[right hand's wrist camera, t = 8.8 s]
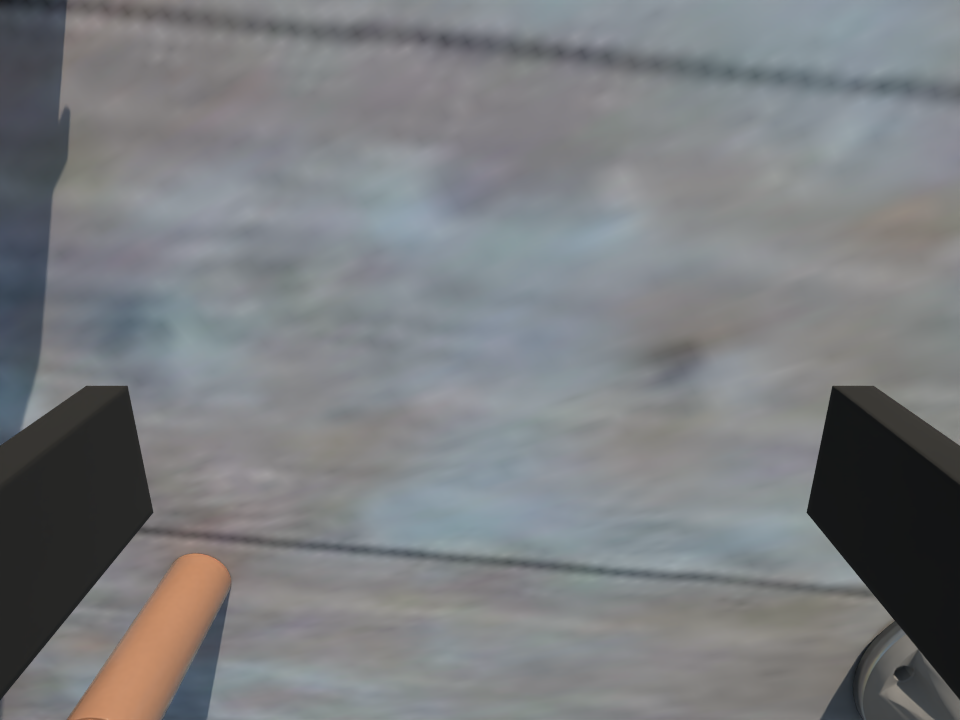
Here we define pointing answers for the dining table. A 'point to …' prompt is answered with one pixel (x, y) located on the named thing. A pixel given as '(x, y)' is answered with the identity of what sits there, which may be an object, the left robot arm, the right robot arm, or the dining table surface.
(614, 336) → the dining table surface
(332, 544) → the dining table surface
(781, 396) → the dining table surface
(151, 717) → the bottle
